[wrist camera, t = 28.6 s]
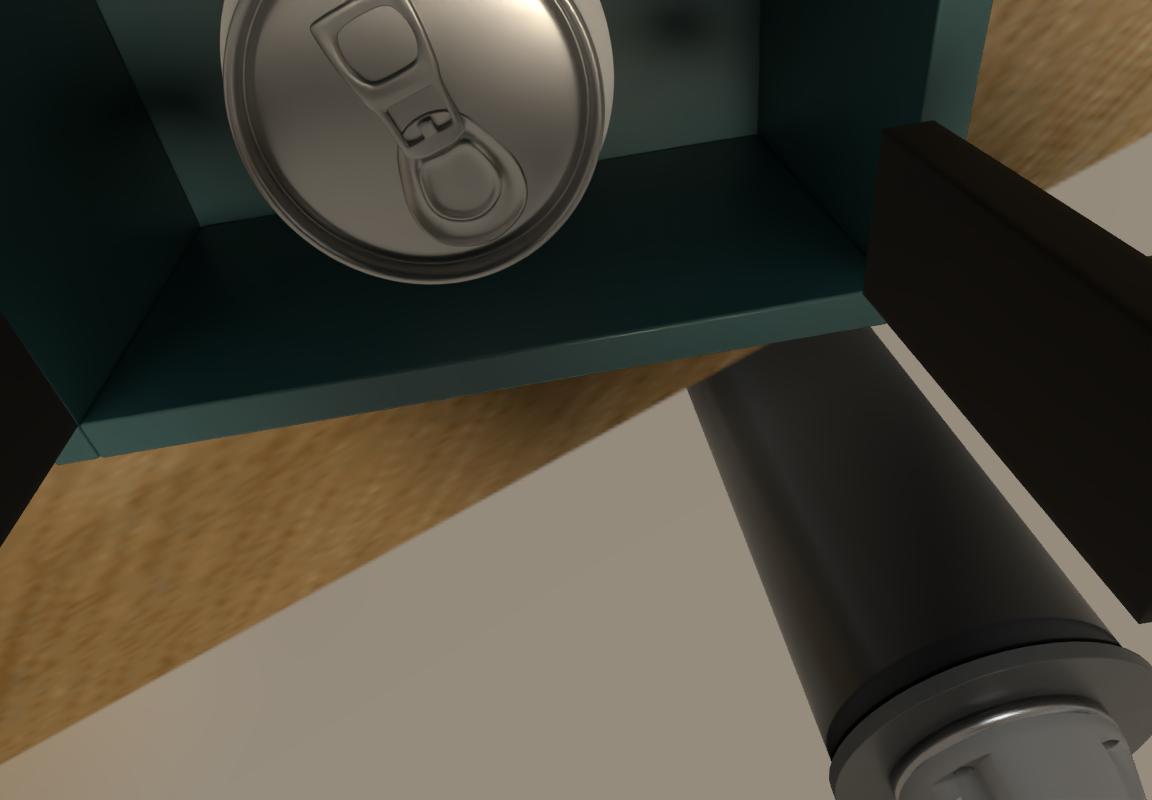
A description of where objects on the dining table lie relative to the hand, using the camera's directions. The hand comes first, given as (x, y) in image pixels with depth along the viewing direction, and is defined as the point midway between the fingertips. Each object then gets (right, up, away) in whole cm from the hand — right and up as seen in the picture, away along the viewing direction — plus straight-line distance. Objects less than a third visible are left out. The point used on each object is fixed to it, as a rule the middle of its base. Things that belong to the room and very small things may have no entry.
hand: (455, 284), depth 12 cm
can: (-2, +10, +9) cm, 14 cm away
